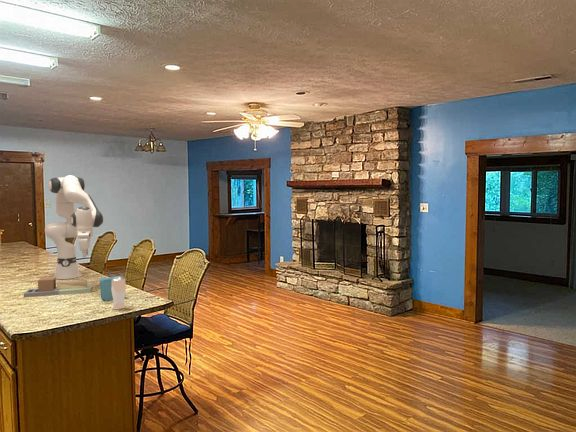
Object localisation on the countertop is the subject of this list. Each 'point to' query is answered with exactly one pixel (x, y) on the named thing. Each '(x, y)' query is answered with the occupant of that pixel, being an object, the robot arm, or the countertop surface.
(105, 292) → the data package
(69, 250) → the robot arm
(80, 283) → the birch bar
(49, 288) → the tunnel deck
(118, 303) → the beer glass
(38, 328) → the countertop surface
